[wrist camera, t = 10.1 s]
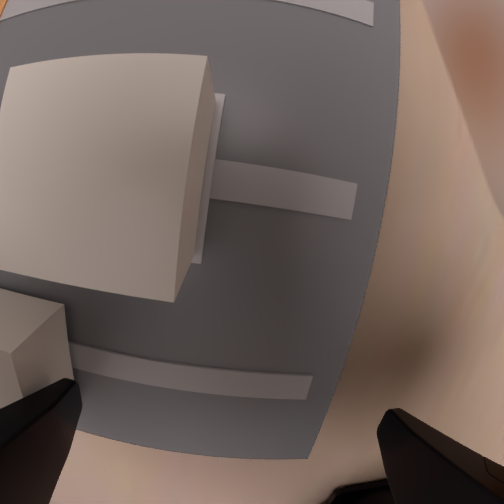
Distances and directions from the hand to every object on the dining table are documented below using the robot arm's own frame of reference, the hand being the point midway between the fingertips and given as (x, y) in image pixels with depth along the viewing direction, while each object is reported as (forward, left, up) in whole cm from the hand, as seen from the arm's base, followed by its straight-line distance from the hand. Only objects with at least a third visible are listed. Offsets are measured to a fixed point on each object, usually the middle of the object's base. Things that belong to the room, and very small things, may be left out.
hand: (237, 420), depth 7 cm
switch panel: (+7, -6, -4) cm, 10 cm away
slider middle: (+4, -6, -2) cm, 7 cm away
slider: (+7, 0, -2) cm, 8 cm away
